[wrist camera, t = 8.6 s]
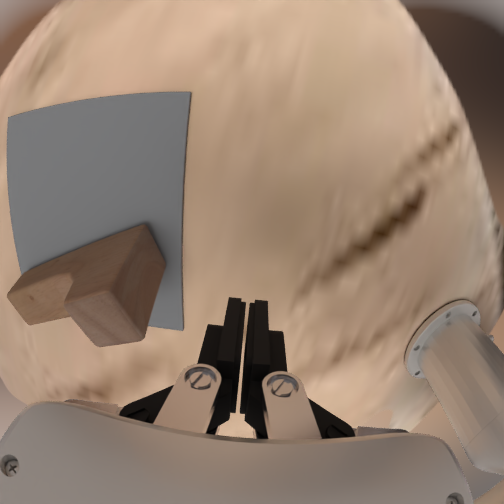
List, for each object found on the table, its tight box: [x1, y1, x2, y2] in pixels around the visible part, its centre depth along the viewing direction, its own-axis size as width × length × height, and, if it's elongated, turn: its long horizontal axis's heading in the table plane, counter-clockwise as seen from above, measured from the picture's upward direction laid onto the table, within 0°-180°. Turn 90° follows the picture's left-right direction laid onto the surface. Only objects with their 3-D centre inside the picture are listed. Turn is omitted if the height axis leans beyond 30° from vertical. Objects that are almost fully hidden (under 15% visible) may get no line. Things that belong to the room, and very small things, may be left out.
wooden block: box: [7, 225, 166, 347], centre depth 20 cm, size 9×4×18 cm
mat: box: [7, 92, 191, 331], centre depth 22 cm, size 21×22×1 cm
